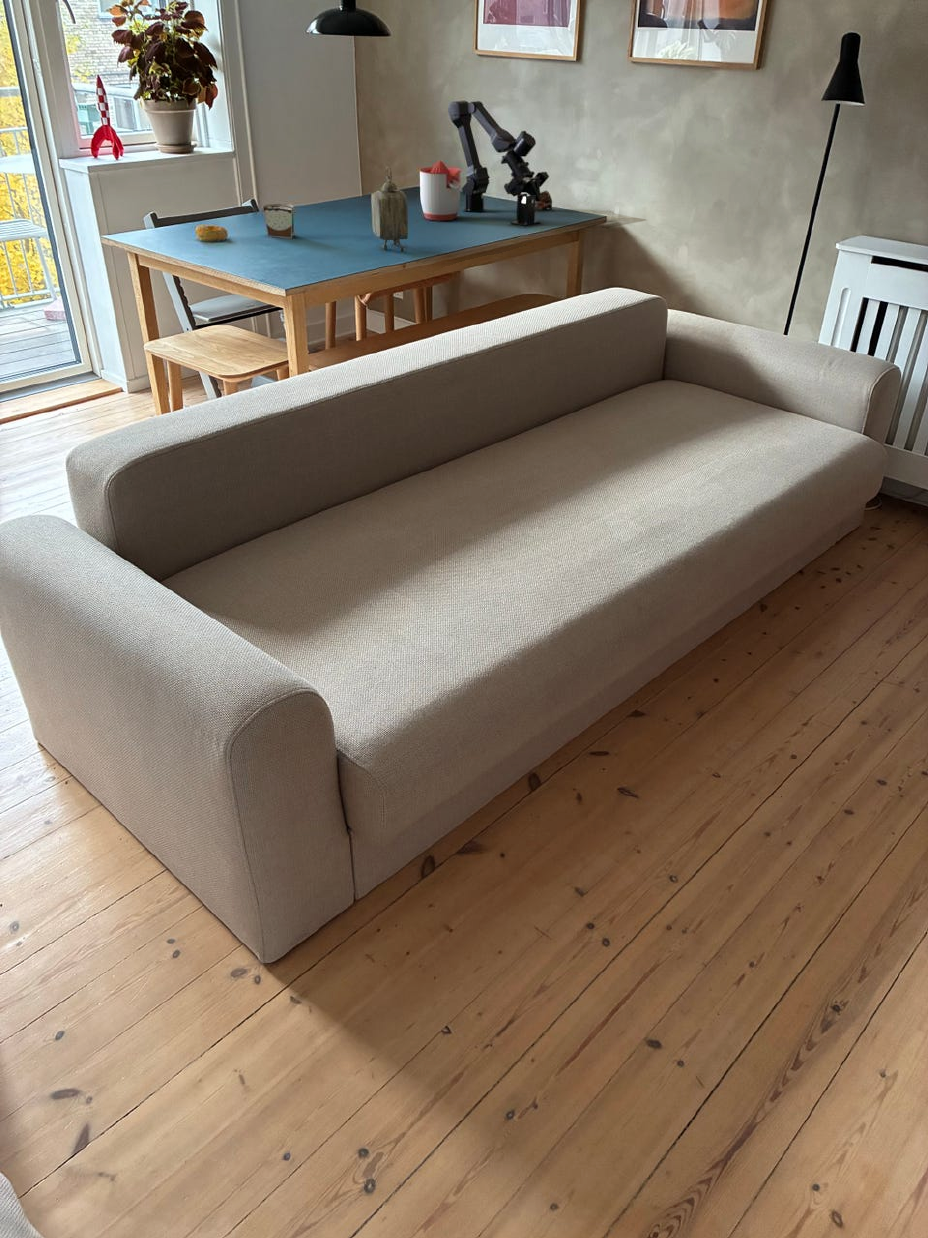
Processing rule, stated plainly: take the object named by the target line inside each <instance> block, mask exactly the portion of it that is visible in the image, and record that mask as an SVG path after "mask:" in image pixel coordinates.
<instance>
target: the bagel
mask: <svg viewBox="0 0 928 1238" xmlns="http://www.w3.org/2000/svg"><path fill="white" fill-rule="evenodd" d="M195 234H196V236H197V239H198V240H199V241H201V242H207V243H209V242H210V243H211V242H212V243H213V242H220V241H225V240H227V238H228V237H229V234H228V230H226V228H224V227H223V226H219V225H216V224H215V225H214V224H206V225H204V224H199V225H197V226H196V227H195Z"/></svg>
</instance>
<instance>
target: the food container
mask: <svg viewBox="0 0 928 1238" xmlns="http://www.w3.org/2000/svg"><path fill="white" fill-rule="evenodd" d="M261 212H262V213H263V217H264V222H265V229H266V232H267V237H268V238H280V239H281V238H282V239H293V238H294V237H295V236H294V235H295V234H294V232H295V231H294V230H295V228H294V225H295V224H294V223H295V222H294V221H295V218H294V217H295V215H296V209H295V207H294V205H293V204H289V203H288V204H287V203H269V204H263V205H262V206H261Z"/></svg>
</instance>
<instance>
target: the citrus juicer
mask: <svg viewBox="0 0 928 1238" xmlns="http://www.w3.org/2000/svg"><path fill="white" fill-rule="evenodd" d="M418 171H419V192H420V203H421V208H422V213H423V215H424V218H425V219H427V220H432V221H436V222H442V221H450V220H455V219H456V218H457V215H458V212H459V207H460V204H461V203H460V202H461V172H462V169H460V168H457V167H449V166H446V165H445V164H444V162H443V161H442V160H438V162H436V163H435V165H434V166H430V167H429V166H428V167H422V168H420V169H419V170H418Z"/></svg>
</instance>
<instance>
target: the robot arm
mask: <svg viewBox="0 0 928 1238" xmlns="http://www.w3.org/2000/svg"><path fill="white" fill-rule="evenodd" d="M447 109H448V111H447V112H448V115H449V118H450V120H451V122H452V123H453V125H454V126H455V127H456V128H457V131H458V135H459V139H460V143H461V147H462V151H463V154H464V158H465V159H464V160H465V162H466V166H467V170H466V174H465V178H466V182H465V183H464V185H463V186H462V187H461V192H462V195H465V209H464V212H466V213H467V212H469V213H482V212H483V210H484V209H485V198H484V194H486V193H487V191H488V187H489V184H490V175H489V171H488V168H487V166H484V167H483V165H482V164H481V163H480V158H479V155H478V151H477V146H476V142H475V138H474V134H473V131H472V130H473V129H472V126H471V122H472V117H473V118H475V120H477V122H478V124H480V126H481V128H482V129H483V130H485V132H486V134H487V135H488V136H489V137H490V143H491V145H492V147H493V149H494V150H495V152H497V154H498V153H499V154H502V153H505V154H504V155H501V160H500V164H501V165H505V164H507V165H508V167H509V169H510V170H511V173H510V177H511V179H510V181H509V182H507V183H504V186H503V189H504V190H505V192H506V194H507V195H511V196H512V197H517V195H521V194H527V195H528V196H531V195H536V197H535V200H536V201H537V202H540V201H541V196H540V193H541V187H542V186H543V185H544V184H545V182H547V180H548V179H549V178H550V176H549V174H548V172H547V171H540V172H537V173H536V175H535V171H531V169H530V167H529V165H530V163H529V161H525V159H524V158H525V157H527V156H528V155H529V154H530V152H531V151H532V150H533V148H534V147H535V146H536V144H537V143H536V139H535V137H534V136H532V135H531V134H530V133H528V132H527V131H526V130H522V131H521V132H519V135H518V136H517V137H516V138H515V137H514V135H512V133H510V132H509V131H508V130H506V129H504V128H503V127H501V126H500V125H499V124H498V123H497V121H496V120H495V118H493V116H492V115H491V114H490V113H489V111H488V110H487V109H486V107H485V106H484V103H483V102H482V101H480V100H475V101H474V100H473V101H470V102H469V101H467V100H456V101H451V102H450V103H449V106H448V108H447ZM534 175H535V176H534Z"/></svg>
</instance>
